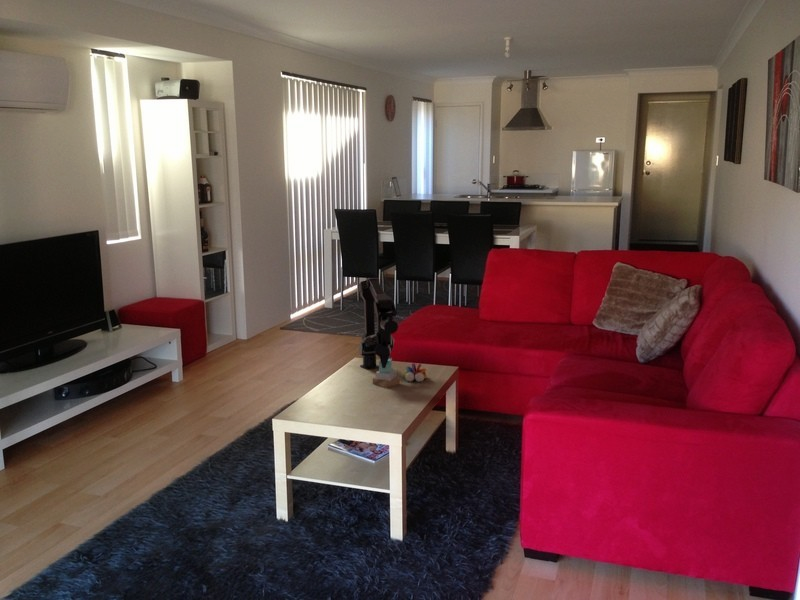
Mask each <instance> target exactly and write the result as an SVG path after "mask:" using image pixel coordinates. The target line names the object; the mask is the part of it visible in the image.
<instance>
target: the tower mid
mask: <svg viewBox="0 0 800 600" xmlns="http://www.w3.org/2000/svg"><path fill="white" fill-rule="evenodd" d="M397 371H398V370H397V369H393V368H392V371H391V373H379V370H378V371H377V370H376V372H375V377H376V379H377V380H385V381H391V380H393V379H394V378H396V377H398V375H397V373H398V372H397Z"/></svg>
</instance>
